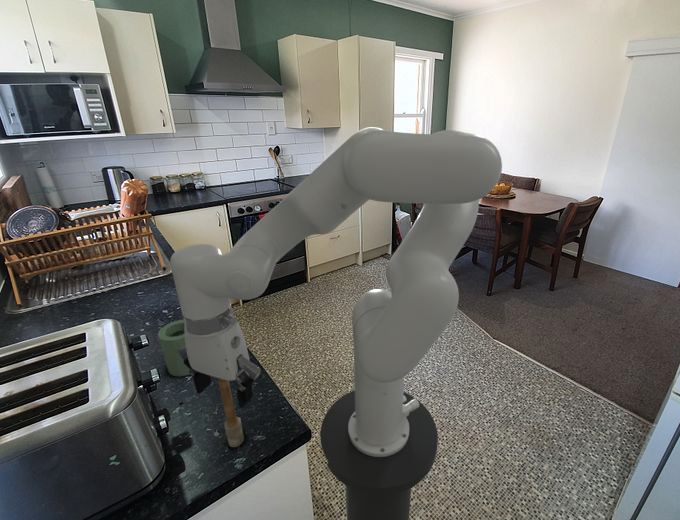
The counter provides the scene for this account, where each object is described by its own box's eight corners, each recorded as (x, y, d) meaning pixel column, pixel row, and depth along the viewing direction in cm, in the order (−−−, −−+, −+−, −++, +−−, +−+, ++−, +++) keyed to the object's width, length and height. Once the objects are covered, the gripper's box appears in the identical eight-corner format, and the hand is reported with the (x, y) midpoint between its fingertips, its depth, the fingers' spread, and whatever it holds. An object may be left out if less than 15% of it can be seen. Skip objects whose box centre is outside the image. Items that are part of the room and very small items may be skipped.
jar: (201, 349, 96) (193, 315, 92) (208, 367, 89) (200, 331, 85) (165, 361, 92) (155, 326, 87) (170, 381, 85) (160, 345, 81)
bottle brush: (241, 431, 71) (228, 370, 65) (246, 442, 69) (233, 380, 63) (226, 439, 70) (212, 377, 64) (230, 450, 68) (216, 387, 61)
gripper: (265, 315, 58) (275, 392, 65) (186, 297, 64) (203, 370, 71) (236, 341, 52) (250, 424, 59) (151, 319, 57) (173, 396, 64)
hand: (224, 394), depth 65 cm, fingers open, 9 cm apart
